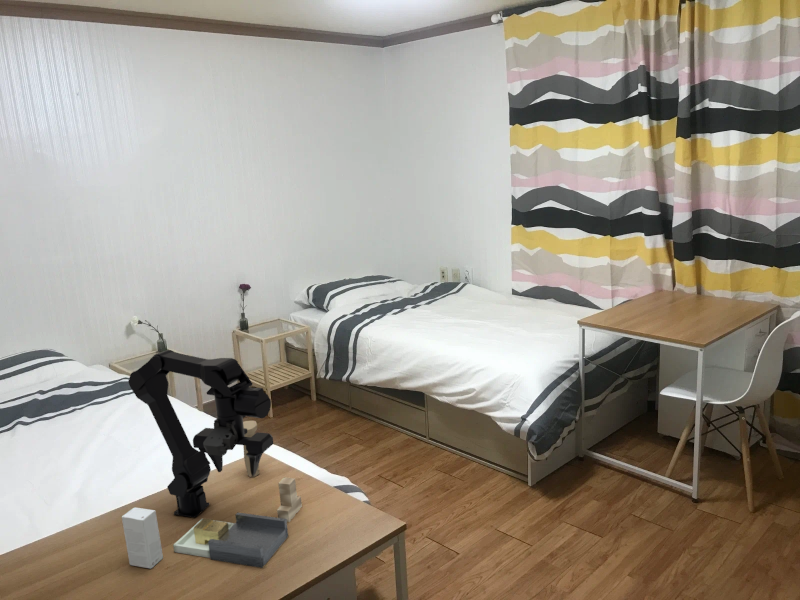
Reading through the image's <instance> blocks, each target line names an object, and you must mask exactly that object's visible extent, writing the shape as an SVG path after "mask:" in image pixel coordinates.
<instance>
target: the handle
mask: <svg viewBox="0 0 800 600" xmlns="http://www.w3.org/2000/svg"><path fill="white" fill-rule="evenodd" d="M243 425H244V428H246V429H247V433H246V434H245V437H252V436H253V435H254V434H256V432H257V430H258V424H257V421H256V420H244V421H243ZM242 447H243V458H244V465H245V469H246V474H247V476H249V478H255V477H256V476H258V475H260V469H259V468H260V464H259V465H258V468H257V471H256V474H255V475H254V476H252V474H251V470H250V460H249V457H248V456H247V455H246V454H247V453H248V451H247V450H246V445H242Z"/></svg>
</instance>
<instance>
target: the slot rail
mask: <svg viewBox="0 0 800 600" xmlns="http://www.w3.org/2000/svg"><path fill="white" fill-rule="evenodd" d="M234 523H235V524H234V525H233V526H232V527H231V528H230V529H229V530H228V531H227V532H226V533H225V534H224V535H223V536H222V537H221V538H220V539H219V540H215V539H210V540H209V541H208V544H209V551H210V558H209V559H210V560H212V561H219V562H223V563H224V562H225V563H228V564H229V563H231V564H237V565H242V566H248V567H254V568H261V569H263V568H264V566H265V565H266V564H267V563H268V562H269V561H270V559H271V558H272V557H273V556H274V554H275V553H277V551H278V549H280V547H281V546H282V545H283V544H284V542H285V541H286V540H287V538H288V537H289V530H288V529H289V528H288V522H287V519H283V518H278V517H274V516H267V515H259V514H252V513H245V512H244V513H243V512H236V513H235V522H234Z"/></svg>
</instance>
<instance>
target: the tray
mask: <svg viewBox="0 0 800 600" xmlns="http://www.w3.org/2000/svg"><path fill="white" fill-rule="evenodd" d="M203 519H204V518H201V519H200V520H199V521H197V522H196V524H194V526H192V527H190V529H189V530H187V532H186V533H184V535H182V536H181V537H180V538H179V539H178V540H177V541H176V542H174V543H173V551H174V553H178V554H184V555H189V556H190V555H191V556H196V557H197V556H198V557H202V558H209V559H211V558H210V551H209V544H208V542H207V543H206V544H205V545H204V544H197V543H196V542H195V535H194V527H195V526H196V525H197V524H198V523H199V522H200V521H201V520H203ZM212 520H213V521H216V520H214V519H212ZM219 521H220V522H223V521H222V520H219ZM226 522H227V523H228V529H230V528H231V527H232V526H233V525H234V524H235V523H236V522H234V523H233V522H228V521H226Z"/></svg>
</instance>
